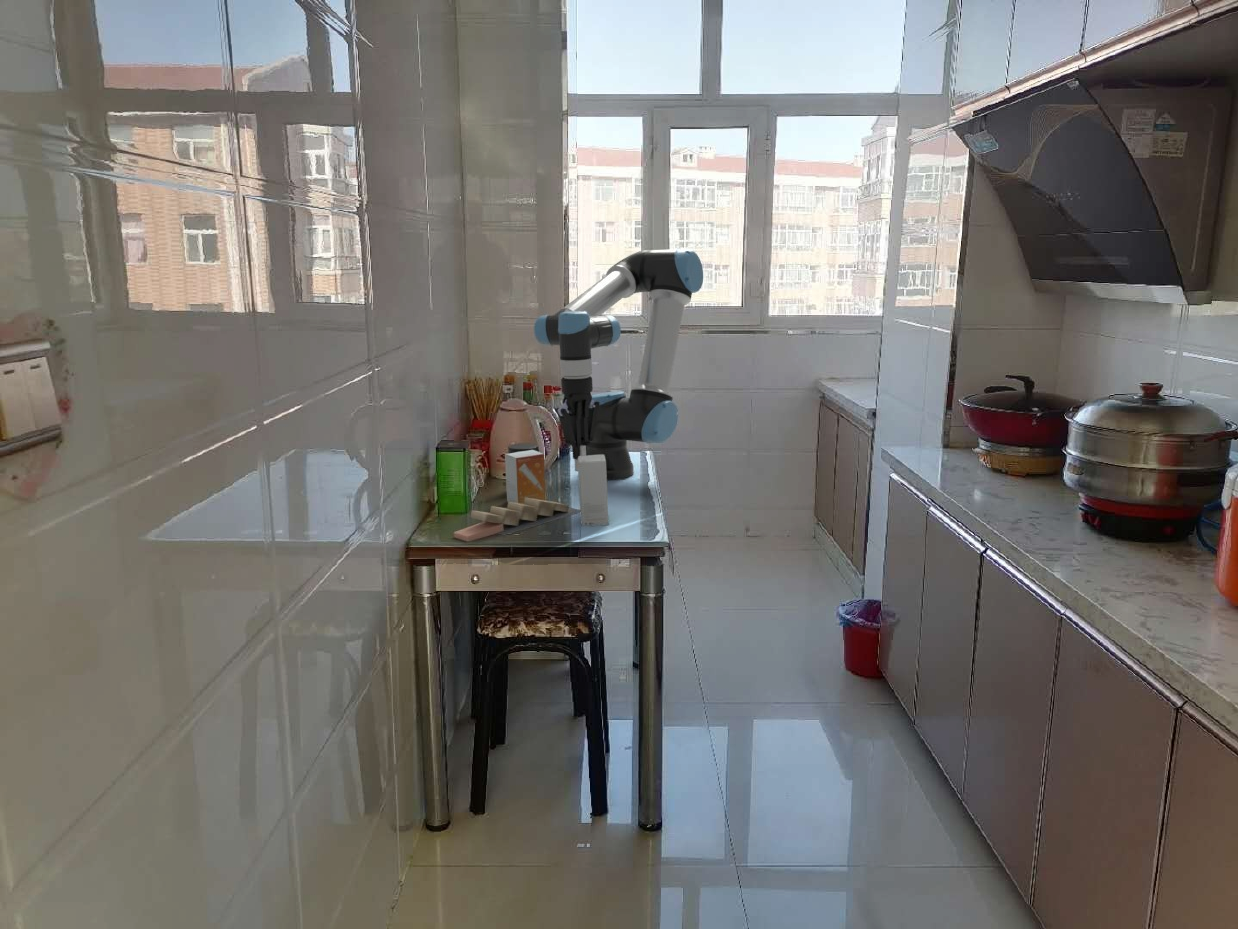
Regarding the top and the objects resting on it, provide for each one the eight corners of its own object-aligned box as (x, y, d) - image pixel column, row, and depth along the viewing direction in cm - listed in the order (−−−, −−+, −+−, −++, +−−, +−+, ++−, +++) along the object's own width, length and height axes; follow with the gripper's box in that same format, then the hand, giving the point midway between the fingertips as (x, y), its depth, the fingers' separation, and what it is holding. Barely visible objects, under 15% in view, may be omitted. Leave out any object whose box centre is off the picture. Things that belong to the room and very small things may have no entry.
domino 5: (555, 502, 228) (524, 497, 220) (569, 505, 224) (538, 500, 217) (553, 508, 228) (523, 504, 220) (567, 512, 224) (537, 507, 217)
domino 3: (523, 510, 221) (491, 506, 213) (537, 514, 217) (504, 509, 210) (522, 517, 221) (489, 512, 213) (535, 521, 217) (503, 516, 210)
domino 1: (489, 519, 213) (453, 532, 206) (502, 523, 210) (467, 536, 203) (490, 526, 214) (454, 539, 207) (503, 530, 210) (468, 543, 203)
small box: (518, 509, 230) (515, 457, 227) (506, 503, 235) (503, 453, 232) (546, 503, 235) (544, 453, 232) (534, 498, 240) (532, 449, 237)
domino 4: (539, 506, 224) (508, 501, 217) (553, 510, 221) (522, 505, 213) (538, 512, 224) (506, 508, 217) (552, 516, 221) (520, 512, 213)
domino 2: (505, 515, 217) (471, 510, 209) (519, 519, 213) (485, 514, 206) (504, 521, 217) (470, 517, 209) (517, 525, 213) (484, 521, 206)
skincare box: (609, 527, 213) (607, 461, 209) (580, 528, 213) (577, 462, 209) (607, 517, 221) (605, 453, 218) (579, 518, 221) (577, 454, 217)
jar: (547, 490, 248) (545, 446, 245) (521, 495, 243) (518, 450, 240) (529, 484, 255) (527, 441, 252) (504, 489, 250) (501, 445, 247)
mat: (556, 506, 232) (556, 504, 231) (584, 513, 225) (584, 510, 225) (476, 529, 214) (476, 526, 214) (504, 537, 207) (504, 535, 207)
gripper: (584, 371, 231) (588, 463, 237) (545, 378, 222) (551, 474, 228) (606, 373, 226) (610, 467, 232) (567, 381, 217) (572, 478, 223)
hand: (580, 470), depth 230 cm, fingers closed
